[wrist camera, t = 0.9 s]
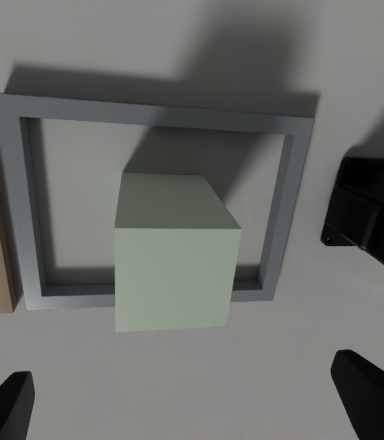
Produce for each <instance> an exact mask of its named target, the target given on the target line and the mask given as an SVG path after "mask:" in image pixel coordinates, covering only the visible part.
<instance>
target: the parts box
mask: <svg viewBox="0 0 384 440" xmlns="http://www.w3.org/2000/svg"><path fill="white" fill-rule="evenodd" d="M241 232H242V229H241V227H240V226H239V225H238V223H237V222H236V220H235V219H234V218H233V216H232V215H231V214H230V212H229V211H228V209H227V208H226V207H225V205H224V204H223V203H222V201H221V200H220V198H219V197H218V196H217V194H216V193H215V192H214V190H213V189H212V187H211V186H210V185H209V183H208V182H207V181H206V179H205V178H204V176H201V175H175V174H149V173H123V172H122V177H121V184H120V191H119V198H118V205H117V212H116V220H115V227H114V246H115V315H116V332H131V331H150V330H169V329H187V328H206V327H225V326H226V324H227V318H228V312H229V306H230V300H231V293H232V287H233V281H234V275H235V269H236V263H237V256H238V250H239V244H240V238H241Z"/></svg>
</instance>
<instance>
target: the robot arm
mask: <svg viewBox="0 0 384 440" xmlns="http://www.w3.org/2000/svg"><path fill="white" fill-rule="evenodd" d="M350 162H351V165H350V166H349V167H348V164H349V163H350ZM329 237H330V239H329V240H327V239H328V238H329ZM321 242H322V243H323V244H325V245H326V246H357V247H358V248H360V249H361V250H364V251H365V252H367V253H368V254H370V255H371V256H372V257H374V258H375V259H376V260H378V261H379V262H380V263H382V264H383V265H384V158H368V157H346V158H344V159H343V161H342V162H341V165H340V169H339V173H338V176H337V180H336V184H335V187H334V189H333V193H332V197H331V200H330V204H329V208H328V211H327V215H326V219H325V224H324V227H323V231H322V235H321ZM331 376H332V379H333V381H334V384H335V386H336V389H337V391H338V393H339V396H340V398H341V400H342V403H343V405H344V408H345V410H346V412H347V415H348V417H349V419H350V422H351V424H352V426H353V428H354V430H355V432H356V434H357V436H358V438H359V440H384V371H383V370H382V369H380V368H378V367H377V366H375V365H374V364H372V363H371V362H369V361H368V360H366V359H365V358H363V357H362V356H360V355H359V354H357V353H356V352H354V351H352V350H349V349H347V350H338V351H337V352H336V355H335V357H334V360H333V363H332V366H331ZM34 399H35V391H34V384H33V378H32V373H31V372H30V371H19V372H14V373H12V374H11V375H10V376H9V377H8V378H7V379H6V380H5V381H4V382H3V383H2V384H1V385H0V440H26V436H27V431H28V427H29V422H30V418H31V413H32V409H33V404H34Z"/></svg>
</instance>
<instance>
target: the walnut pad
mask: <svg viewBox="0 0 384 440" xmlns="http://www.w3.org/2000/svg"><path fill="white" fill-rule="evenodd" d="M16 306H17V301H16V295H15V289H14V283H13V277H12V271H11V265H10V259H9V253H8V247H7V240H6V234H5V228H4V222H3V216H2V210H1V204H0V313H13V312H14V310H15V308H16Z"/></svg>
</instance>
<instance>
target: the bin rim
mask: <svg viewBox="0 0 384 440" xmlns="http://www.w3.org/2000/svg"><path fill="white" fill-rule="evenodd" d="M27 117H34V118H48V119H63V120H78V121H93V122H108V123H123V124H138V125H152V126H167V127H182V128H197V129H212V130H227V131H242V132H257V133H271V134H285V139H284V144H283V149H282V154H281V159H280V164H279V170H278V175H277V180H276V185H275V190H274V195H273V200H272V205H271V210H270V215H269V221H268V226H267V231H266V236H265V241H264V246H263V251H262V256H261V261H260V267H259V272H258V277H257V280H250V281H233V287H232V293H231V300H230V302H247V301H273V298H274V294H275V289H276V285H277V280H278V276H279V271H280V267H281V263H282V258H283V254H284V249H285V245H286V241H287V236H288V232H289V227H290V223H291V218H292V214H293V210H294V205H295V201H296V196H297V192H298V188H299V183H300V179H301V174H302V170H303V166H304V161H305V157H306V152H307V148H308V143H309V139H310V135H311V130H312V126H313V121H314V118H309V117H303V116H291V115H278V114H265V113H253V112H240V111H228V110H215V109H203V108H190V107H178V106H165V105H152V104H140V103H127V102H115V101H102V100H90V99H77V98H65V97H52V96H40V95H27V94H14V93H0V138H1V145H2V151H3V158H4V164H5V171H6V178H7V184H8V191H9V197H10V204H11V210H12V217H13V224H14V230H15V237H16V243H17V250H18V257H19V263H20V270H21V276H22V283H23V289H24V296H25V303H26V309H27V310H41V309H67V308H93V307H115V284H95V285H56V286H46V278H45V269H44V260H43V252H42V243H41V235H40V226H39V218H38V209H37V201H36V192H35V183H34V175H33V166H32V158H31V149H30V141H29V132H28V123H27Z"/></svg>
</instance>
